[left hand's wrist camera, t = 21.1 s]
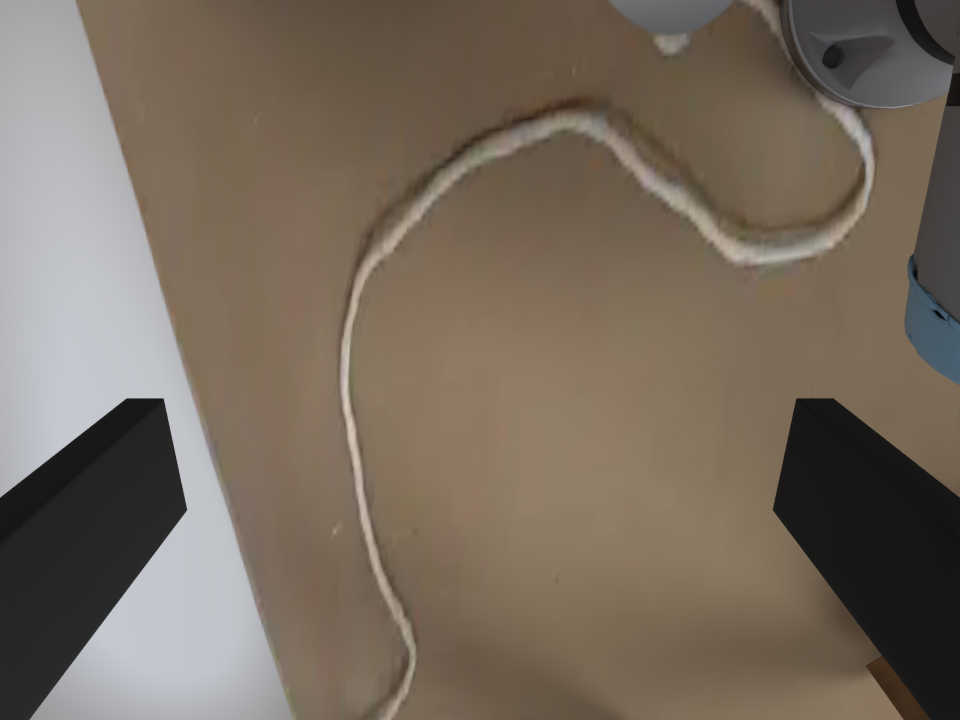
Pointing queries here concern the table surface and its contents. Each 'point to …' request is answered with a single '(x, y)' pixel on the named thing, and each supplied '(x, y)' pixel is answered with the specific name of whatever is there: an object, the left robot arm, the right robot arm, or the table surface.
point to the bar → (896, 690)
